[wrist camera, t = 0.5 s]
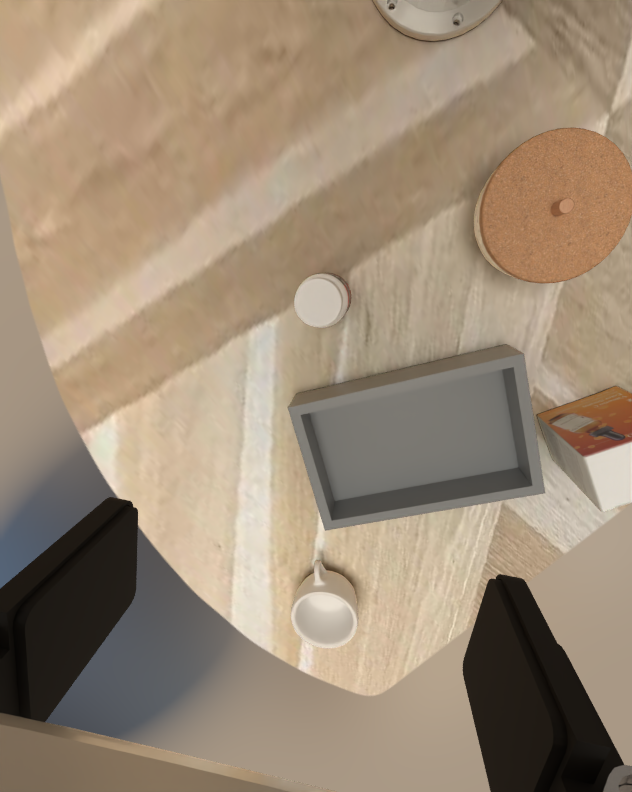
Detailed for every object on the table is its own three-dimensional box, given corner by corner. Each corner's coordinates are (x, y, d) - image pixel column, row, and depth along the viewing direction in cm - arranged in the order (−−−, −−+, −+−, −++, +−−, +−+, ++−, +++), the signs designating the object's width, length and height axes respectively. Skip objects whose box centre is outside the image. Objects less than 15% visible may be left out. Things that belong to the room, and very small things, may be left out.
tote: (296, 393, 46) (287, 407, 41) (506, 344, 42) (523, 353, 37) (329, 505, 50) (325, 530, 45) (526, 469, 45) (545, 493, 41)
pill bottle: (360, 301, 43) (358, 308, 35) (324, 330, 44) (313, 343, 36) (332, 262, 42) (323, 260, 34) (295, 293, 43) (278, 298, 35)
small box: (616, 384, 42) (693, 420, 32) (631, 433, 43) (710, 482, 33) (534, 414, 44) (582, 456, 34) (550, 460, 45) (602, 514, 35)
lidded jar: (472, 294, 41) (500, 300, 32) (450, 177, 39) (475, 149, 30) (591, 262, 39) (656, 260, 30) (577, 137, 37) (644, 94, 28)
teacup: (363, 610, 53) (362, 647, 48) (304, 614, 54) (297, 649, 49) (351, 542, 51) (349, 573, 46) (289, 547, 52) (280, 577, 47)
